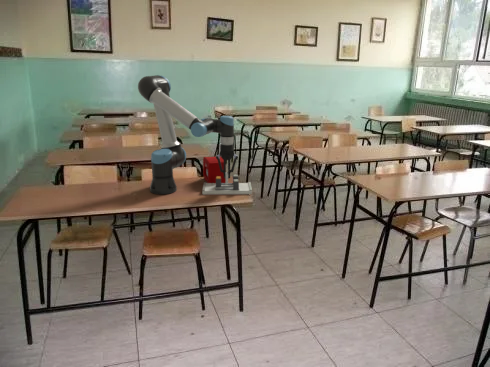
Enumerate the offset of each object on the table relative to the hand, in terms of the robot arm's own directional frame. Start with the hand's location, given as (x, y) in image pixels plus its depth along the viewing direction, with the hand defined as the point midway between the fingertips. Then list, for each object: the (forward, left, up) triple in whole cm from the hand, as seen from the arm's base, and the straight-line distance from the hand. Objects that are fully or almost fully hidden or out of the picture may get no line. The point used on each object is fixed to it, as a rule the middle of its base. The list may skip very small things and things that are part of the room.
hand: (226, 183), depth 233 cm
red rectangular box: (-8, +18, -4) cm, 20 cm away
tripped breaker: (-5, 0, -1) cm, 5 cm away
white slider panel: (0, 0, -4) cm, 4 cm away
